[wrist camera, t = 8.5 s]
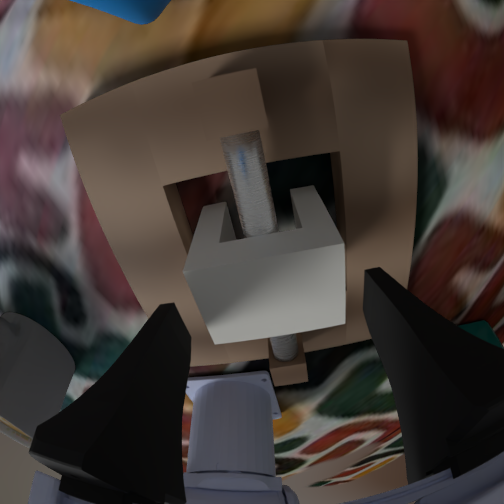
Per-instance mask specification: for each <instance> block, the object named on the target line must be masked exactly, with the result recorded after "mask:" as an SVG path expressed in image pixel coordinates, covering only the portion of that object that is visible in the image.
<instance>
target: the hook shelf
mask: <svg viewBox="0 0 504 504" xmlns="http://www.w3.org/2000/svg"><path fill="white" fill-rule="evenodd" d="M60 117H61V120H62V123H63V127H64V130H65V133H66V136H67V139H68V142H69V145H70V148H71V151H72V154H73V157H74V160H75V163H76V165H77V168H78V171H79V173H80V176H81V179H82V181H83V184H84V187H85V189H86V192H87V194H88V197H89V199H90V201H91V204H92V206H93V209H94V211H95V213H96V216H97V218H98V220H99V222H100V225H101V227H102V229H103V231H104V234H105V236H106V238H107V240H108V242H109V244H110V246H111V249H112V251H113V253H114V255H115V257H116V259H117V261H118V263H119V265H120V267H121V269H122V271H123V273H124V275H125V277H126V279H127V280H128V282H129V284H130V286H131V288H132V290H133V292H134V294H135V295H136V297H137V299H138V301H139V303H140V305H141V306H142V308H143V310H144V312H145V313H146V315H147V317H148V319H149V318H150V316H151V315H152V314H153V312H154V311H155V310H156V309H157V307H158V306H159V305H160V304H165V303H173V302H174V303H175V305H176V307H177V309H178V311H179V313H180V315H181V318H182V320H183V322H184V324H185V326H186V327H187V329H188V331H189V333H190V335H191V337H192V340H191V362H190V366H203V365H214V364H225V363H234V362H243V361H251V360H258V359H266V358H269V368H270V372H271V375H272V379H273V382H274V385H275V386H282V385H289V384H295V383H302V382H307V381H308V376H307V367H306V360H305V354H304V352H310V351H315V350H320V349H326V348H331V347H336V346H340V345H345V344H350V343H354V342H359V341H363V340H367V339H372V338H371V335H370V333H369V330H368V326H367V323H366V320H365V316H364V313H363V293H364V270H366V269H371V268H375V267H381V268H382V269H383V270H384V271H385V272H387V273H388V274H389V275H390V276H391V277H393V278H394V279H395V280H396V281H397V282H399V283H400V284H401V285H402V286H403V287H404V288H406V289H407V286H408V280H409V273H410V266H411V258H412V250H413V241H414V231H415V219H416V203H417V177H418V147H417V121H416V106H415V94H414V84H413V76H412V68H411V61H410V55H409V48H408V43H407V41H404V40H388V39H332V40H316V41H304V42H294V43H286V44H278V45H271V46H264V47H258V48H252V49H247V50H241V51H236V52H232V53H227V54H222V55H218V56H214V57H210V58H206V59H202V60H198V61H194V62H191V63H187V64H184V65H180V66H177V67H174V68H171V69H167V70H164V71H161V72H158V73H155V74H152V75H150V76H147V77H144V78H141V79H139V80H136V81H133V82H131V83H128V84H126V85H123V86H121V87H118V88H116V89H113V90H111V91H109V92H106V93H104V94H102V95H100V96H98V97H95V98H93V99H91V100H89V101H87V102H85V103H83V104H81V105H79V106H77V107H75V108H73V109H71V110H69V111H67V112H65V113H63V114H61V115H60ZM256 130H259V132H260V136H261V141H262V146H263V151H264V156H265V161H266V163H268V162H274V161H279V160H285V159H291V158H297V157H303V156H310V155H316V154H323V153H330V157H331V166H332V176H333V186H334V197H335V209H336V223H337V230H338V232H339V234H340V236H341V238H342V240H343V242H344V249H345V293H346V307H345V324H341V325H337V326H332V327H327V328H321V329H316V330H311V331H305V332H299V333H296V337H297V344H298V355H297V357H296V358H295V359H293V360H292V361H289V362H281V361H279V360H277V359H276V358H275V356H274V353H273V349H272V345H271V341H270V337H268V338H262V339H255V340H247V341H240V342H232V343H224V344H214V342H213V339H212V337H211V335H210V333H209V331H208V329H207V326H206V324H205V322H204V320H203V318H202V315H201V313H200V311H199V309H198V306H197V304H196V302H195V300H194V297H193V295H192V293H191V290H190V288H189V286H188V283H187V281H186V279H185V276H184V274H183V269H184V266H185V262H186V259H187V256H188V252H189V249H190V246H191V243H192V239H193V234H192V231H191V228H190V225H189V222H188V219H187V216H186V213H185V210H184V207H183V204H182V201H181V198H180V194H179V191H178V188H177V185H176V182H180V181H184V180H188V179H192V178H197V177H201V176H205V175H210V174H214V173H219V172H223V171H228V170H227V166H226V162H225V158H224V154H223V150H222V146H221V142H220V138H222V137H227V136H231V135H236V134H241V133H246V132H251V131H256Z"/></svg>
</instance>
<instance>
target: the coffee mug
mask: <svg viewBox="0 0 504 504" xmlns="http://www.w3.org/2000/svg"><path fill="white" fill-rule="evenodd" d="M74 371H75V363H74V360H73V358H72V356H71V355H70V353H69V351H68V350H67V349H66V348H65V346H64V345H63V344H62V343H61V342H60V341H59V340H58V339H57V338H56V337H55V336H54V335H53V334H51V333H50V332H49V331H48V330H47V329H45V328H44V327H43V326H41V325H40V324H38V323H37V322H35V321H33V320H32V319H30V318H28V317H26V316H23V315H21V314H18V313H12V312H7V313H4V314H3V315H2V316H1V317H0V432H2V433H3V434H5V435H7V436H8V437H10V438H11V439H13V440H15V441H17V442H19V443H21V444H23V445H24V446H27V447H29V448H30V446H31V443H32V440H33V437H34V434H35V431H36V428H37V426H38V425H40V424H42V423H43V422H45V421H46V420H48V419H50V418H51V417H53V416H55V415H56V414H58V413H59V411H60V409H61V406H62V403H63V400H64V397H65V395H66V392H67V389H68V387H69V384H70V382H71V379H72V376H73V374H74Z"/></svg>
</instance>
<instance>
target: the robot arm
mask: <svg viewBox="0 0 504 504" xmlns="http://www.w3.org/2000/svg"><path fill="white" fill-rule="evenodd" d="M363 313H364V316H365V320H366V323H367V326H368V330H369V333H370V335H371V338H372V340H373V342H374V345H375V347H376V349H377V352H378V354H379V357H380V359H381V361H382V364H383V366H384V369H385V371H386V374H387V376H388V379H389V382H390V385H391V388H392V391H393V395H394V399H395V403H396V407H397V412H398V417H399V421H400V426H401V432H402V438H403V444H404V451H405V459H406V470H407V480H408V485H406V486H403V487H400V488H397V489H394V490H391V491H388V492H384V493H381V494H377V495H374V496H370V497H367V498H362V499H358V500H353V501H349V502H344V503H339V504H408V503H411V502H414V501H416V500H417V501H416V502H415V503H414V504H504V349H503V348H500V347H498V346H495V345H493V344H491V343H488V342H486V341H484V340H482V339H480V338H478V337H476V336H474V335H472V334H471V333H469V332H467V331H465V330H463V329H462V328H460V327H458V326H457V325H455V324H453V323H452V322H450V321H449V320H447V319H445V318H444V317H442V316H441V315H440V314H438V313H437V312H435V311H434V310H433V309H431V308H430V307H428V306H427V305H426V304H424V303H423V302H422V301H421V300H419V299H418V298H417V297H416V296H414V295H413V294H412V293H411V292H409V291H408V290H407V289H406V288H404V287H403V286H402V285H401V284H400V283H399V282H397V281H396V280H395V279H394V278H393V277H391V276H390V275H389V274H388V273H387V272H385V271H384V270H383V269H382V268H381V267H375V268H371V269H366V270H364V293H363ZM191 340H192V337H191V335H190V333H189V331H188V329H187V327H186V326H185V324H184V322H183V320H182V318H181V315H180V313H179V311H178V309H177V307H176V305H175V303H174V302H173V303H165V304H160V305H159V306H158V307H157V309H156V310H155V311H154V312H153V314H152V315H151V316H150V318H149V319H148V320H147V322H146V323H145V324H144V326H143V327H142V328H141V330H140V331H139V332H138V334H137V335H136V336H135V338H134V339H133V340H132V342H131V343H130V344H129V345H128V347H127V348H126V349H125V350H124V352H123V353H122V354H121V355H120V357H119V358H118V359H117V360H116V361H115V363H114V364H113V365H112V366H111V367H110V368H109V369H108V370H107V372H106V373H105V374H104V375H103V376H102V377H101V378H100V379H99V380H98V381H97V382H96V383H95V384H94V385H92V386H91V387H90V388H89V389H88V390H87V391H86V392H85V393H84V394H82V395H81V396H80V397H79V398H78V399H77V400H75V401H74V402H73V403H71V404H70V405H69V406H68V407H66V408H65V409H63V410H62V411H61V412H59V413H58V414H56V415H55V416H53V417H51V418H50V419H48V420H46V421H45V422H43V423H42V424H40V425H38V426H37V428H36V431H35V434H34V437H33V440H32V443H31V446H30V450H29V454H30V455H31V456H32V457H33V458H34V459H35V460H37V461H39V462H40V463H42V464H44V465H45V466H47V467H48V468H50V469H52V470H54V471H56V472H57V473H59V474H61V475H62V477H61V480H59V479H56V478H54V477H52V476H49V475H47V474H44V473H42V472H39V471H36V472H35V475H34V479H33V483H32V487H31V491H30V496H29V501H28V504H299V500H298V497H297V495H296V494H295V492H294V491H293V490H291V488H290V487H289V486H287V485H282V478H281V477H276V475H275V456H274V439H273V422H272V419H279V418H281V417H282V415H281V411H280V408H279V405H278V401H277V398H276V395H275V392H274V388H273V385H272V382H271V379H270V375H269V373H268V372H267V371H255V372H246V373H237V374H228V375H217V376H204V377H189V378H188V375H189V369H190V362H191ZM185 393H186V394H187V395H188V396H189V398H190V399H191V400H192V402H193V412H192V421H191V431H190V440H189V451H188V461H187V473H184V475H183V465H182V414H183V406H184V399H185Z"/></svg>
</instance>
